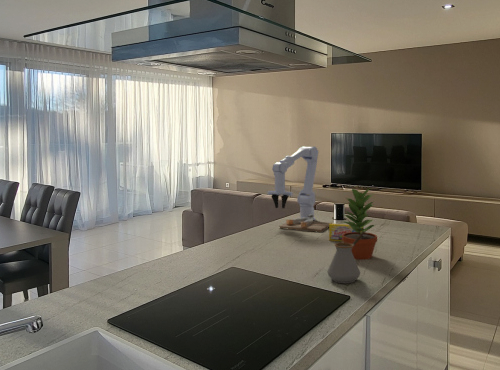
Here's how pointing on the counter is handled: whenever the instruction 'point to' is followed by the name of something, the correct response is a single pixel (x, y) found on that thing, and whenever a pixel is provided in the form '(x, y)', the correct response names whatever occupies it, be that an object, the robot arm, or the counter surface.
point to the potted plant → (360, 227)
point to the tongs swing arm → (296, 220)
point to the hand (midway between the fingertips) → (280, 208)
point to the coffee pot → (344, 263)
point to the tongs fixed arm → (307, 221)
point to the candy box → (338, 231)
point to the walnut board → (312, 227)
